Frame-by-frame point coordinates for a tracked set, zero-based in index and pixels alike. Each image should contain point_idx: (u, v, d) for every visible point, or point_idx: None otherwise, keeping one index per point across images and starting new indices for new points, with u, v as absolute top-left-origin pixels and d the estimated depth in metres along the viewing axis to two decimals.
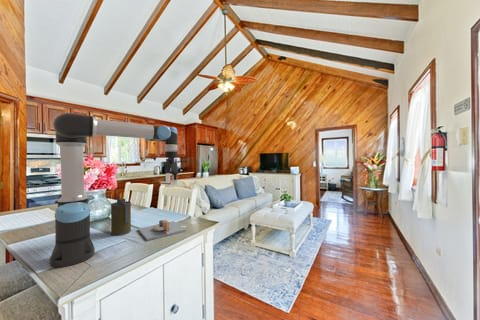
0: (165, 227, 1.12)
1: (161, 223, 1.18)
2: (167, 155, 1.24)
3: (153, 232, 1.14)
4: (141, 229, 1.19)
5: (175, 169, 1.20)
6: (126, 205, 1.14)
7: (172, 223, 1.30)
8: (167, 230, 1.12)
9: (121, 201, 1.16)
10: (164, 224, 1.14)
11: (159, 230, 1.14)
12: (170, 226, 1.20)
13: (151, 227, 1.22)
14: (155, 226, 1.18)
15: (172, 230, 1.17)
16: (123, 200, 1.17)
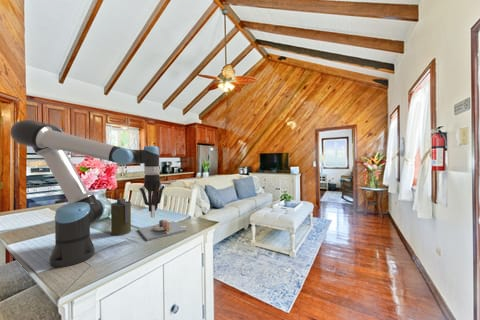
0: (165, 227, 1.12)
1: (161, 223, 1.18)
2: None
3: (153, 232, 1.14)
4: (141, 229, 1.19)
5: (144, 200, 1.06)
6: (126, 205, 1.14)
7: (172, 223, 1.30)
8: (167, 230, 1.12)
9: (121, 201, 1.16)
10: (164, 224, 1.14)
11: (159, 230, 1.14)
12: (170, 226, 1.20)
13: (151, 227, 1.22)
14: (155, 226, 1.18)
15: (172, 230, 1.17)
16: (123, 200, 1.17)
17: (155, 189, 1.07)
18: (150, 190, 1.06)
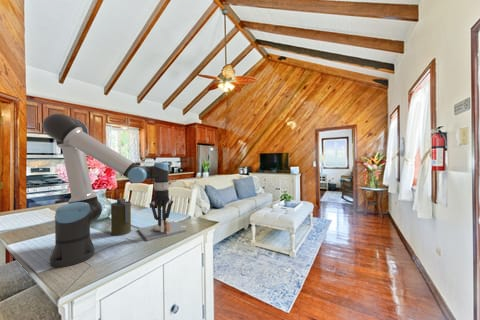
0: (165, 227, 1.13)
1: None
2: None
3: (153, 232, 1.14)
4: (141, 229, 1.19)
5: (154, 215, 1.09)
6: (126, 205, 1.14)
7: (172, 223, 1.30)
8: (167, 230, 1.12)
9: (121, 201, 1.16)
10: None
11: (159, 230, 1.14)
12: (170, 226, 1.20)
13: (151, 227, 1.22)
14: (155, 226, 1.18)
15: (172, 230, 1.17)
16: (123, 200, 1.17)
17: (164, 204, 1.11)
18: (160, 205, 1.09)
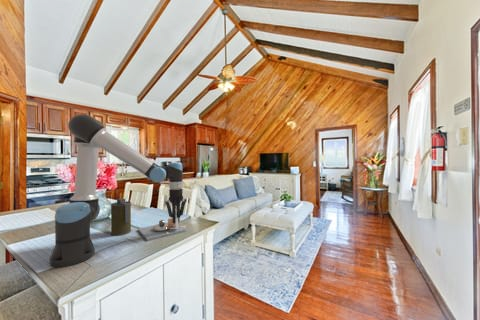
0: None
1: (163, 223, 1.19)
2: None
3: (153, 232, 1.14)
4: (141, 229, 1.19)
5: None
6: (126, 205, 1.14)
7: None
8: (178, 226, 1.19)
9: (121, 201, 1.16)
10: None
11: (166, 229, 1.17)
12: None
13: (151, 227, 1.22)
14: (157, 227, 1.16)
15: (172, 230, 1.17)
16: (123, 200, 1.17)
17: (179, 203, 1.16)
18: (174, 203, 1.15)
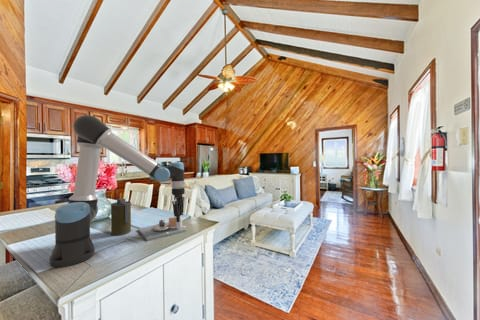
0: None
1: (164, 222, 1.19)
2: None
3: (153, 232, 1.14)
4: (141, 229, 1.19)
5: (175, 212, 1.15)
6: (126, 205, 1.14)
7: None
8: None
9: (121, 201, 1.16)
10: (173, 220, 1.21)
11: (168, 228, 1.18)
12: None
13: (151, 227, 1.22)
14: (158, 228, 1.16)
15: (172, 230, 1.17)
16: (123, 200, 1.17)
17: (182, 201, 1.21)
18: (180, 202, 1.18)
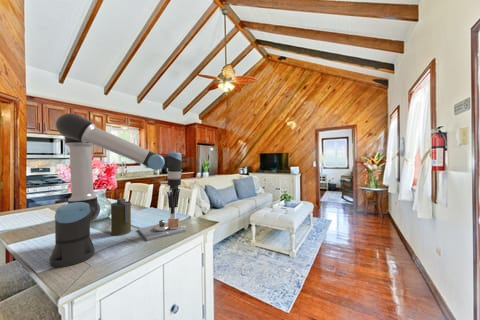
0: (175, 223, 1.19)
1: (163, 223, 1.19)
2: (167, 183, 1.14)
3: (153, 232, 1.14)
4: (141, 229, 1.19)
5: (170, 203, 1.12)
6: (126, 205, 1.14)
7: None
8: (178, 225, 1.20)
9: (121, 201, 1.16)
10: (172, 221, 1.19)
11: (167, 229, 1.17)
12: None
13: (151, 227, 1.22)
14: (157, 227, 1.16)
15: (172, 230, 1.17)
16: (123, 200, 1.17)
17: (177, 192, 1.17)
18: (175, 193, 1.14)
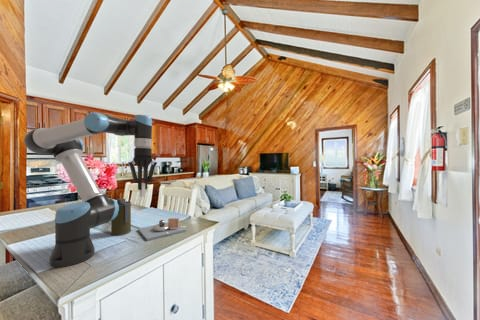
0: (175, 223, 1.19)
1: (163, 223, 1.19)
2: None
3: (153, 232, 1.14)
4: (141, 229, 1.19)
5: (133, 177, 0.92)
6: (126, 205, 1.14)
7: None
8: (178, 225, 1.19)
9: (121, 201, 1.16)
10: (172, 221, 1.19)
11: (167, 229, 1.17)
12: None
13: (151, 227, 1.22)
14: (157, 227, 1.16)
15: (172, 230, 1.17)
16: (123, 200, 1.17)
17: (146, 165, 0.95)
18: (140, 165, 0.93)
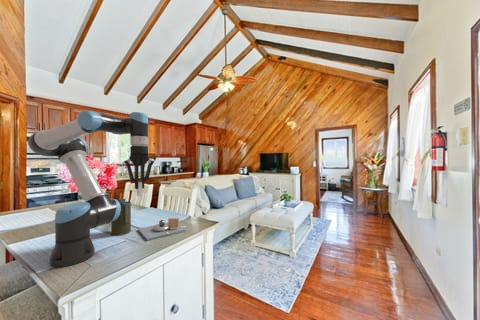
0: (175, 223, 1.19)
1: (163, 223, 1.19)
2: None
3: (153, 232, 1.14)
4: (141, 229, 1.19)
5: (129, 176, 0.91)
6: (126, 205, 1.14)
7: None
8: (178, 225, 1.19)
9: (121, 201, 1.16)
10: (172, 221, 1.19)
11: (167, 229, 1.17)
12: None
13: (151, 227, 1.22)
14: (157, 227, 1.16)
15: (172, 230, 1.17)
16: (123, 200, 1.17)
17: (143, 163, 0.92)
18: (137, 164, 0.91)
